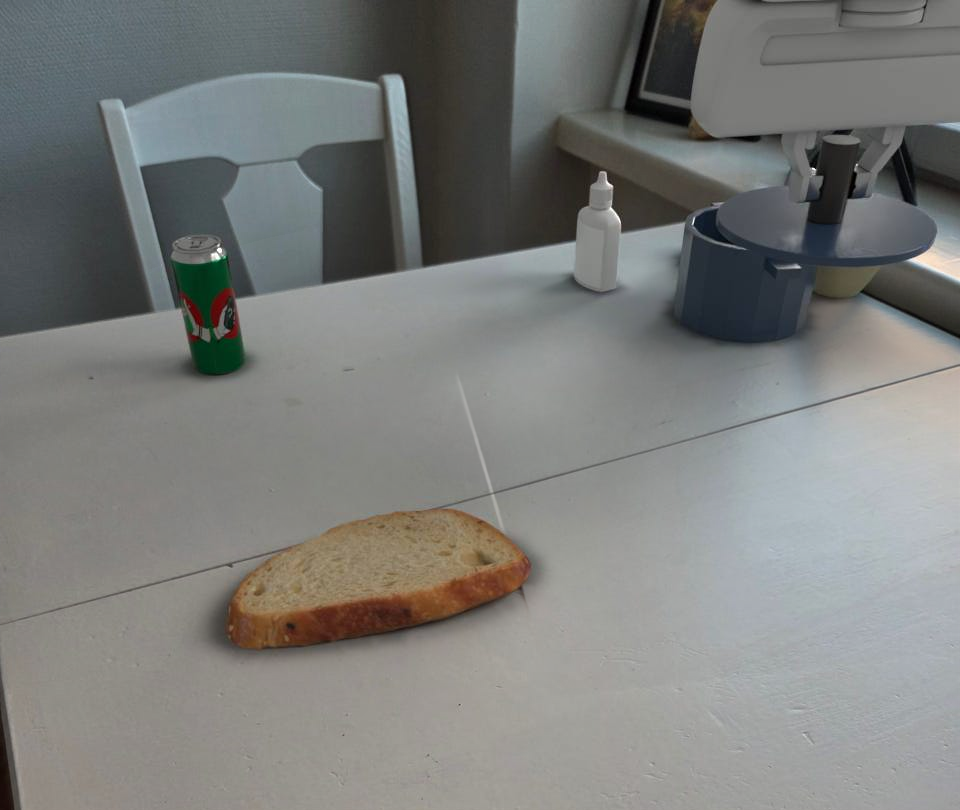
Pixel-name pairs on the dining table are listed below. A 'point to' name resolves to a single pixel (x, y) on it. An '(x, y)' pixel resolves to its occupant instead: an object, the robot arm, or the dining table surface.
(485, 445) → the dining table surface
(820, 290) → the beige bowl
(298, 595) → the bread slice
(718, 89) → the robot arm
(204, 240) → the soda can
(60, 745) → the dining table surface
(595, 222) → the eye dropper bottle
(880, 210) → the lid
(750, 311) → the pot
